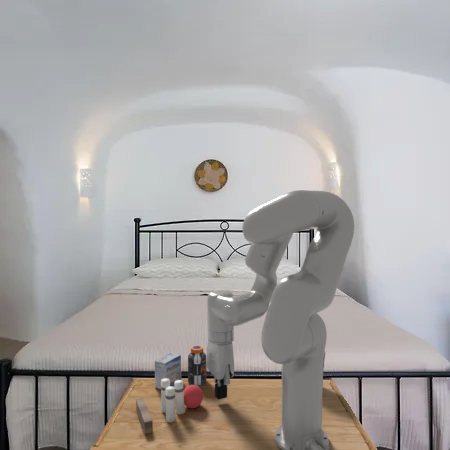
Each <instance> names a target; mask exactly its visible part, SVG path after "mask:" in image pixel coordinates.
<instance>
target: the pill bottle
mask: <svg viewBox="0 0 450 450" xmlns="http://www.w3.org/2000/svg"><path fill="white" fill-rule="evenodd" d="M187 382H188V384H189V385H196V386H202V385H204V384H205V383H206V382H207V354H206V353H205V352H204V346H202V345H193V346H191V347H190V352H189V354H188V356H187Z"/></svg>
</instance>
